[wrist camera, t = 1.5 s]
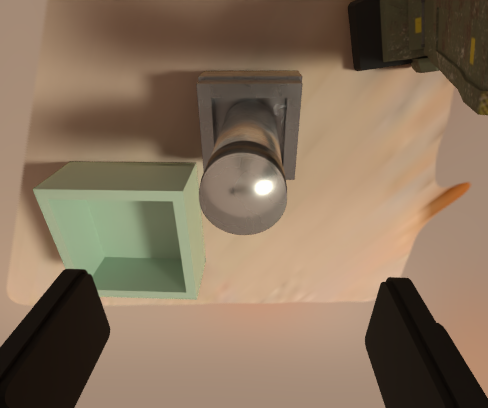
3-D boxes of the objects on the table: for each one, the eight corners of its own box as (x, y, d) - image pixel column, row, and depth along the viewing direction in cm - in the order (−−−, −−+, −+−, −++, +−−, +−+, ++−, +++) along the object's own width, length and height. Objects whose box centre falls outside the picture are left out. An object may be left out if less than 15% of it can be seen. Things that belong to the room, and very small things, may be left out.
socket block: (204, 71, 26) (193, 80, 22) (298, 70, 26) (305, 80, 22) (210, 158, 30) (202, 180, 26) (291, 158, 30) (296, 181, 26)
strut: (221, 99, 24) (193, 156, 14) (278, 99, 24) (291, 157, 14) (224, 152, 27) (201, 235, 16) (275, 153, 26) (285, 236, 16)
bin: (70, 161, 31) (32, 189, 26) (196, 162, 31) (183, 191, 25) (101, 258, 38) (76, 296, 33) (205, 261, 37) (196, 299, 32)
